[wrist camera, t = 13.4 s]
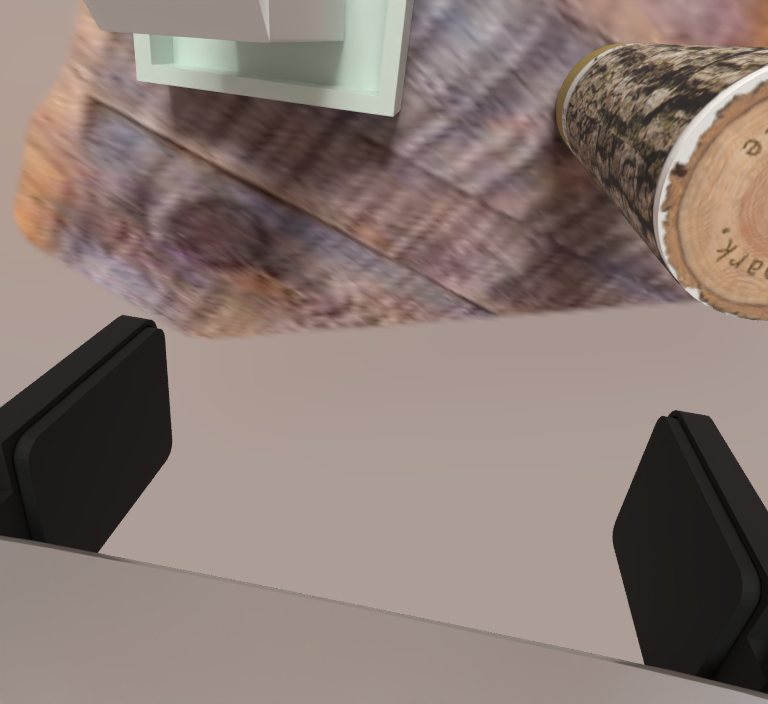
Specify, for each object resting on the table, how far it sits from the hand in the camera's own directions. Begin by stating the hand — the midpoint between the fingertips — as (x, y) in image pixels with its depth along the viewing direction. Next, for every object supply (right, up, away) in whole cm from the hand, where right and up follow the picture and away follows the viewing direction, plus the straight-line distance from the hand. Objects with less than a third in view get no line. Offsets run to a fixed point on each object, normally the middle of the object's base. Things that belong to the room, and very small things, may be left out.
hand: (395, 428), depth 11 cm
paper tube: (+14, +17, +26) cm, 34 cm away
